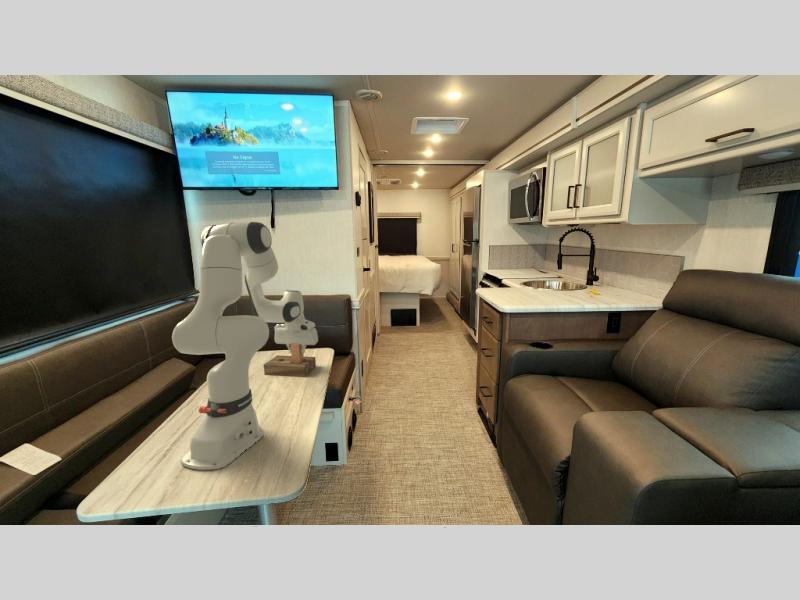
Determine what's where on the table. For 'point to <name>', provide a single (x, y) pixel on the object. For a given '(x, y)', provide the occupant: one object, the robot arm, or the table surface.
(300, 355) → the square peg
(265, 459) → the table surface
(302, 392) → the table surface
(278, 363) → the socket block
